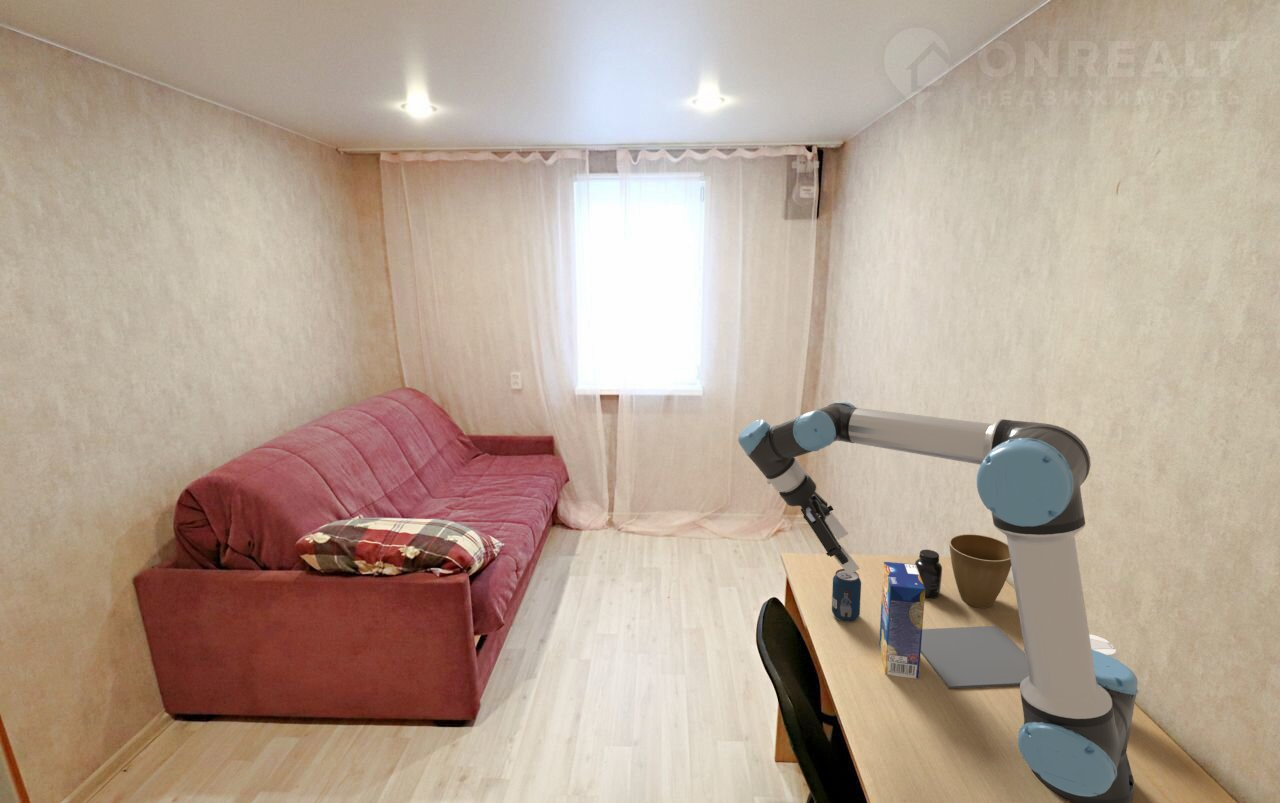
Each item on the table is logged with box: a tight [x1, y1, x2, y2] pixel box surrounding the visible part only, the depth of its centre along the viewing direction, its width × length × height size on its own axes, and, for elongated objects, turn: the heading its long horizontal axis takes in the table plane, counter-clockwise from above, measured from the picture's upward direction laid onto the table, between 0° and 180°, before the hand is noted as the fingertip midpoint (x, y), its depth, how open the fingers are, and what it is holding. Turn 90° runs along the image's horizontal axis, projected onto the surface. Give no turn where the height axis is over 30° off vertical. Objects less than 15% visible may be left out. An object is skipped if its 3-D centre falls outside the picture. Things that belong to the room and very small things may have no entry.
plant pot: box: [948, 533, 1012, 609], centre depth 153 cm, size 15×15×16 cm
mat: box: [920, 625, 1029, 690], centre depth 133 cm, size 20×23×1 cm
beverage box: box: [878, 561, 926, 680], centre depth 130 cm, size 7×11×22 cm, turn 165°
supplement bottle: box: [914, 549, 943, 600], centre depth 158 cm, size 7×7×12 cm
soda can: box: [831, 568, 862, 623], centre depth 149 cm, size 7×7×12 cm
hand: (848, 552), depth 127 cm, fingers open, 13 cm apart
